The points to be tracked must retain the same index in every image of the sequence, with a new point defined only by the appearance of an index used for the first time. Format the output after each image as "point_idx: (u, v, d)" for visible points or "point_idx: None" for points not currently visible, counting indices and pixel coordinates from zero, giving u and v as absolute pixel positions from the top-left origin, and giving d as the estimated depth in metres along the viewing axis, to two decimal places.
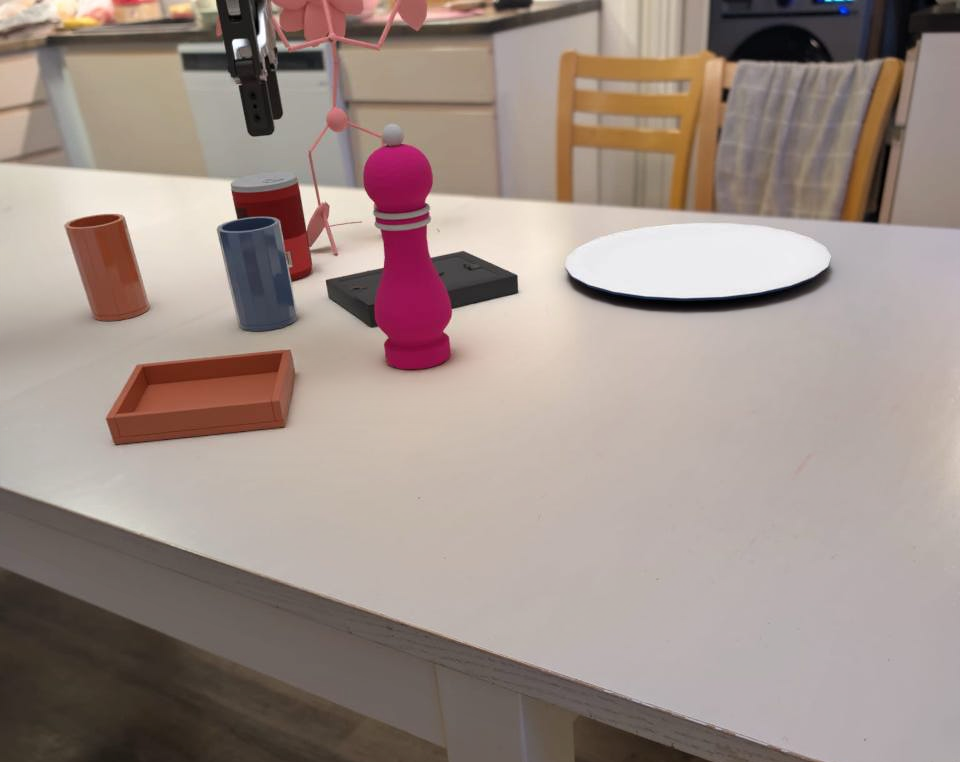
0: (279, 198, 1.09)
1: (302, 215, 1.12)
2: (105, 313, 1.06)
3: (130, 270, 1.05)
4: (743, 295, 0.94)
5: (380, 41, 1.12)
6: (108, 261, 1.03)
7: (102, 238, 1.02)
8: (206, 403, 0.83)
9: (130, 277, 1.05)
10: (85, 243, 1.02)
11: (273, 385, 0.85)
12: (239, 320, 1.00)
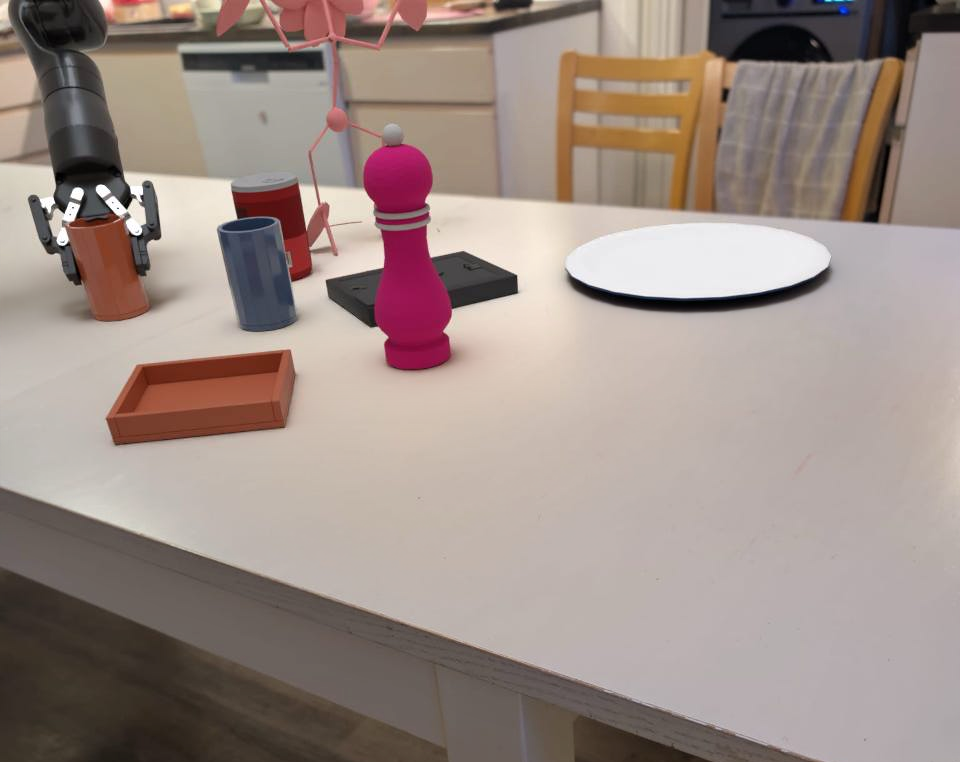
0: (279, 198, 1.09)
1: (302, 215, 1.12)
2: (105, 313, 1.06)
3: (130, 270, 1.05)
4: (743, 295, 0.94)
5: (380, 41, 1.12)
6: (108, 261, 1.03)
7: (101, 238, 1.01)
8: (206, 403, 0.83)
9: (130, 277, 1.05)
10: (85, 243, 1.02)
11: (273, 385, 0.85)
12: (239, 320, 1.00)
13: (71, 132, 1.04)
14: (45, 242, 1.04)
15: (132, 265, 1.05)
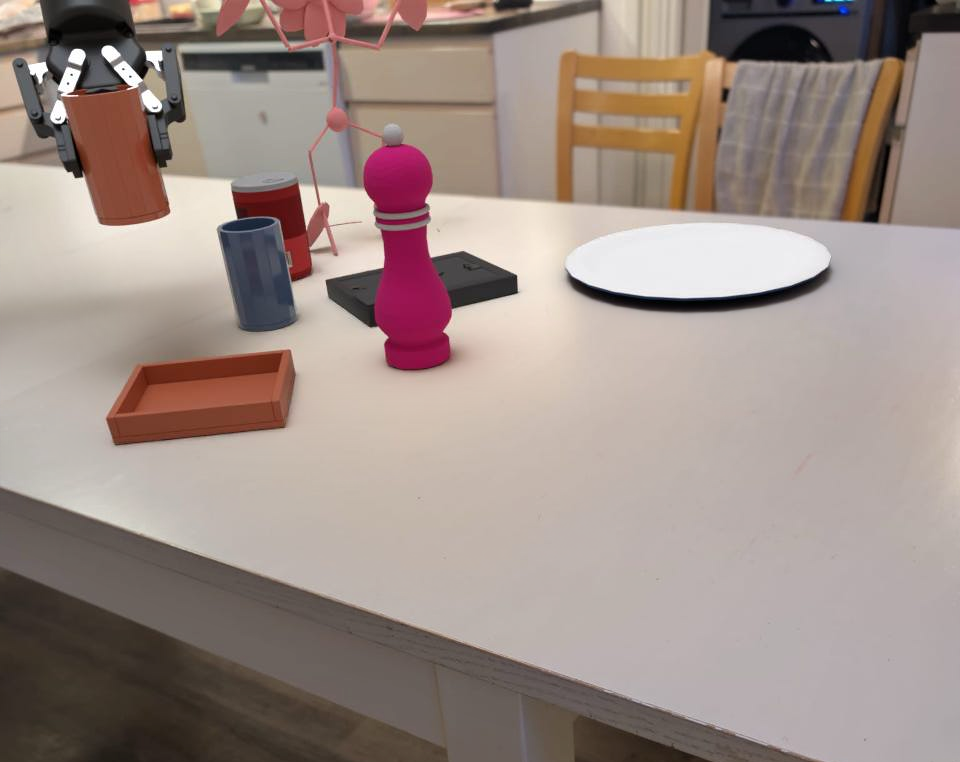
0: (279, 198, 1.09)
1: (302, 215, 1.12)
2: (114, 215, 0.82)
3: (147, 157, 0.81)
4: (743, 295, 0.94)
5: (380, 41, 1.12)
6: (118, 143, 0.78)
7: (110, 110, 0.77)
8: (206, 403, 0.83)
9: (147, 167, 0.81)
10: (88, 117, 0.77)
11: (273, 385, 0.85)
12: (239, 320, 1.00)
13: None
14: (35, 119, 0.79)
15: (149, 151, 0.81)
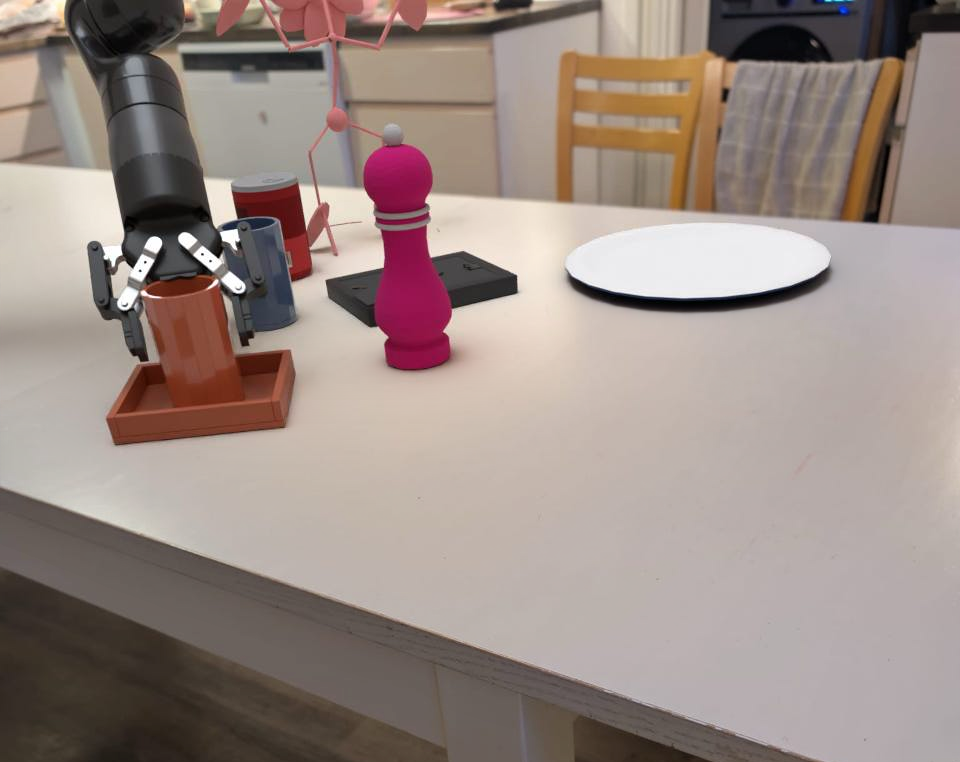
0: (279, 198, 1.09)
1: (302, 215, 1.12)
2: (191, 405, 0.81)
3: (226, 349, 0.79)
4: (743, 295, 0.94)
5: (380, 41, 1.12)
6: (198, 340, 0.77)
7: (191, 310, 0.76)
8: None
9: (225, 359, 0.80)
10: (169, 317, 0.76)
11: (273, 385, 0.85)
12: None
13: (147, 163, 0.78)
14: (102, 306, 0.78)
15: (227, 343, 0.80)
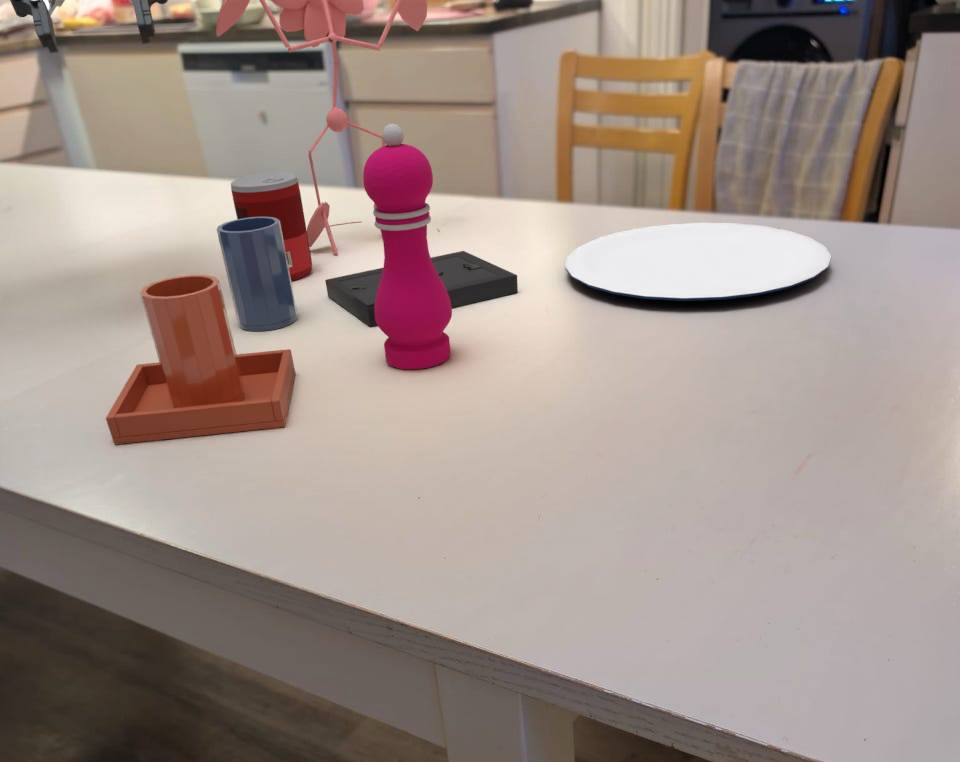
0: (279, 198, 1.09)
1: (302, 215, 1.12)
2: (191, 405, 0.81)
3: (226, 349, 0.79)
4: (743, 295, 0.94)
5: (380, 41, 1.12)
6: (198, 340, 0.77)
7: (191, 310, 0.76)
8: None
9: (225, 359, 0.80)
10: (169, 317, 0.76)
11: (273, 385, 0.85)
12: (239, 320, 1.00)
13: None
14: None
15: (227, 343, 0.80)
